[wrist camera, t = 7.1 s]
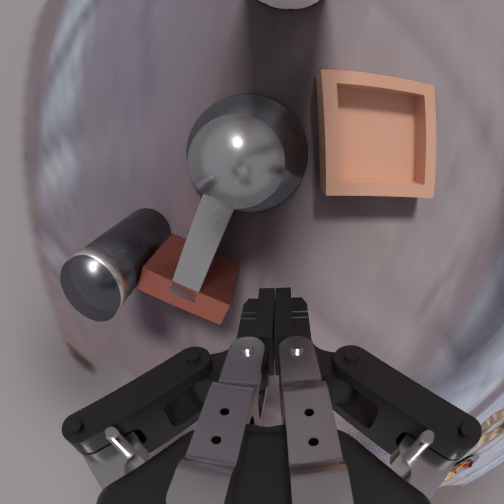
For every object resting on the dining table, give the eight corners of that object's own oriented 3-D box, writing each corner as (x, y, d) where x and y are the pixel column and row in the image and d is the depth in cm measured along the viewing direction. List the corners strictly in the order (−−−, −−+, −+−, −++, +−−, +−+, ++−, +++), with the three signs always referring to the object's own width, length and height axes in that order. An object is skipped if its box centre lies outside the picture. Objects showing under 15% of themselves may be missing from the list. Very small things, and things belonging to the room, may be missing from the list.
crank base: (303, 93, 18) (304, 92, 17) (307, 207, 21) (308, 210, 21) (185, 103, 19) (181, 102, 18) (196, 212, 22) (193, 215, 21)
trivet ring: (531, 392, 36) (534, 397, 34) (502, 426, 43) (504, 431, 41) (489, 415, 38) (492, 422, 35) (459, 448, 45) (461, 454, 43)
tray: (418, 88, 16) (433, 85, 14) (418, 191, 20) (433, 198, 18) (315, 76, 17) (320, 68, 15) (319, 188, 21) (325, 195, 18)
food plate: (481, 455, 54) (483, 461, 51) (435, 481, 63) (436, 487, 60) (472, 449, 49) (474, 456, 46) (417, 480, 58) (419, 487, 55)
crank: (220, 107, 18) (200, 97, 12) (298, 140, 18) (310, 142, 13) (166, 251, 23) (137, 289, 17) (231, 279, 23) (220, 324, 18)
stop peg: (167, 205, 22) (105, 256, 13) (175, 254, 24) (127, 324, 15) (122, 210, 23) (51, 258, 13) (132, 255, 24) (74, 318, 15)
